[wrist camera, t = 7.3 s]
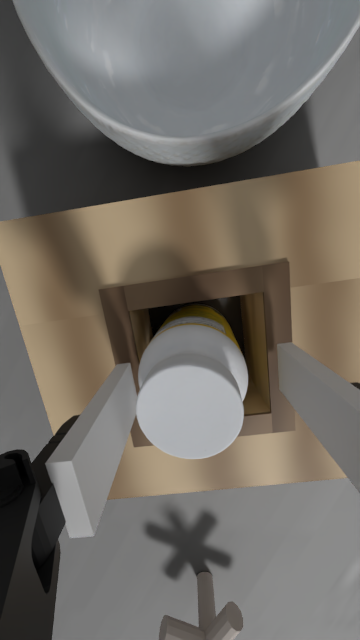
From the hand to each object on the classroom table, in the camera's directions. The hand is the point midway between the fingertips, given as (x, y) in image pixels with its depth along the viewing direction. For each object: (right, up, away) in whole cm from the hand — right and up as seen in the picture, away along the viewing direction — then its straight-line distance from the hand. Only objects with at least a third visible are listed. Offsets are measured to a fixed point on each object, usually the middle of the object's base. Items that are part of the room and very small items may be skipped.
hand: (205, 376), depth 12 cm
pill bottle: (0, +2, +8) cm, 8 cm away
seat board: (0, +2, +8) cm, 8 cm away
